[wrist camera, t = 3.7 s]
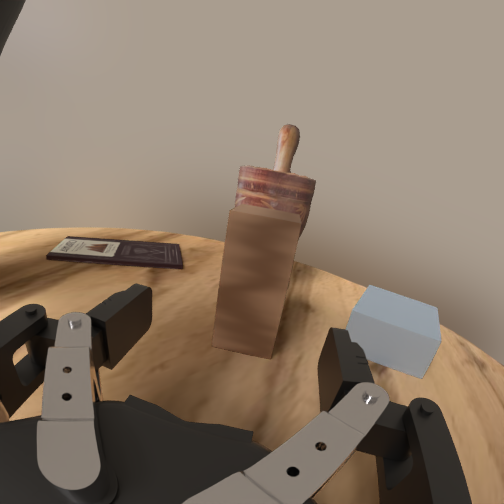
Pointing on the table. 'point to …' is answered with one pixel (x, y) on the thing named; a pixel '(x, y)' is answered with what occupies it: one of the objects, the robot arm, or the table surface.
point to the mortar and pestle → (278, 181)
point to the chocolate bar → (117, 252)
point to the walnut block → (254, 278)
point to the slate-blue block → (395, 330)
